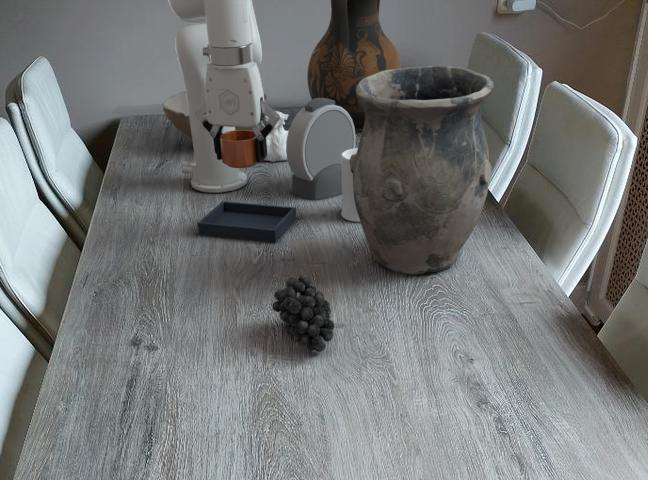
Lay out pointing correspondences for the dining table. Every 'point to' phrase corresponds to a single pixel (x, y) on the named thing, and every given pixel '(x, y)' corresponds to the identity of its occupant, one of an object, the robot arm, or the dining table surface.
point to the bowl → (185, 113)
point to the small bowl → (238, 148)
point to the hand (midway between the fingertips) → (241, 158)
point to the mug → (348, 188)
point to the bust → (277, 140)
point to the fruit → (305, 313)
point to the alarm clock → (319, 148)
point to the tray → (247, 221)
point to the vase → (350, 55)
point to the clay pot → (421, 164)
